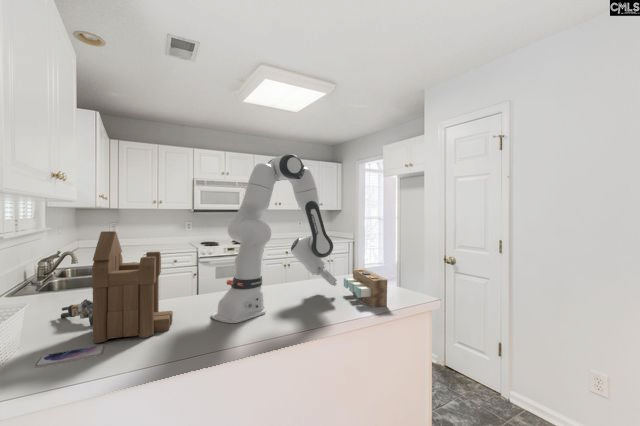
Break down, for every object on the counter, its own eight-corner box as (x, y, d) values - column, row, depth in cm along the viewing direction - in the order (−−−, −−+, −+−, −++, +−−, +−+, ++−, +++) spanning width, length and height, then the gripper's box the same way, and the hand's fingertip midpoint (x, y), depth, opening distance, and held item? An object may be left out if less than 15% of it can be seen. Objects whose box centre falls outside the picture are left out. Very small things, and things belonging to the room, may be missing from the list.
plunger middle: (352, 292, 144) (352, 284, 143) (349, 290, 148) (349, 281, 147) (369, 291, 146) (369, 283, 146) (365, 289, 150) (366, 281, 150)
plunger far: (346, 288, 151) (346, 280, 151) (343, 286, 155) (343, 278, 155) (362, 287, 154) (362, 279, 154) (359, 285, 158) (359, 277, 158)
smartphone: (41, 355, 88) (104, 344, 95) (41, 358, 88) (104, 346, 95) (33, 366, 81) (101, 353, 89) (33, 369, 81) (101, 356, 89)
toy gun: (96, 326, 107) (91, 298, 108) (60, 332, 115) (56, 305, 116) (105, 323, 111) (100, 296, 111) (70, 328, 118) (66, 303, 119)
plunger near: (359, 298, 136) (359, 288, 136) (355, 295, 140) (355, 286, 140) (377, 296, 138) (377, 287, 138) (373, 294, 142) (373, 285, 142)
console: (372, 307, 136) (373, 279, 135) (352, 291, 159) (353, 268, 158) (386, 306, 138) (387, 278, 137) (364, 291, 161) (365, 267, 160)
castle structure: (168, 336, 102) (168, 233, 101) (90, 345, 95) (90, 234, 94) (176, 309, 128) (176, 226, 127) (115, 315, 120) (115, 227, 119)
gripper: (326, 265, 139) (346, 285, 142) (315, 257, 159) (332, 275, 162) (317, 275, 138) (337, 295, 141) (307, 266, 158) (324, 283, 161)
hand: (334, 284), depth 152 cm, fingers closed
